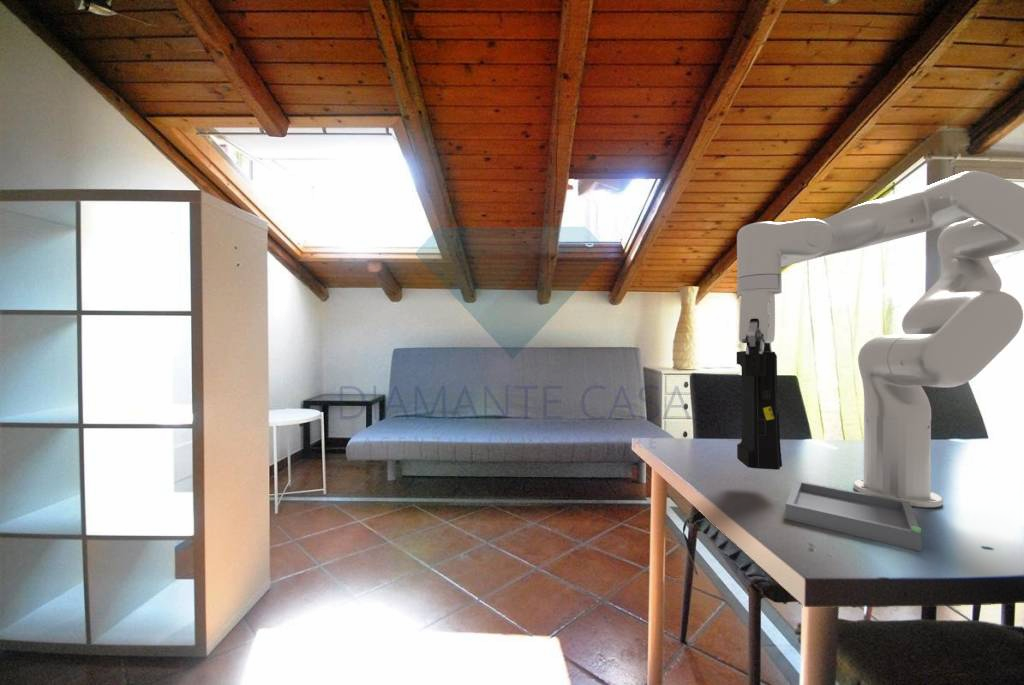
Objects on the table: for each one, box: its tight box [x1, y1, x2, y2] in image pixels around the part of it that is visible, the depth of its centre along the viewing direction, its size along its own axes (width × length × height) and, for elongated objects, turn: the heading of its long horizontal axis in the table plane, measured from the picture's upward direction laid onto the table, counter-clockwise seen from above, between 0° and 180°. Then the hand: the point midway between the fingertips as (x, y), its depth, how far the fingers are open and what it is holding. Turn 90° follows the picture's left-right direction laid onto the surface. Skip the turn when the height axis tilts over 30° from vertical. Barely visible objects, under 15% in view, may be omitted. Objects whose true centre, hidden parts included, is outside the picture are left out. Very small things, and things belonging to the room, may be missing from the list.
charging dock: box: [785, 480, 922, 552], centre depth 68 cm, size 16×16×3 cm
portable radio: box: [736, 350, 783, 471], centre depth 79 cm, size 8×6×25 cm
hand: (759, 374), depth 80 cm, fingers closed on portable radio, 8 cm apart
